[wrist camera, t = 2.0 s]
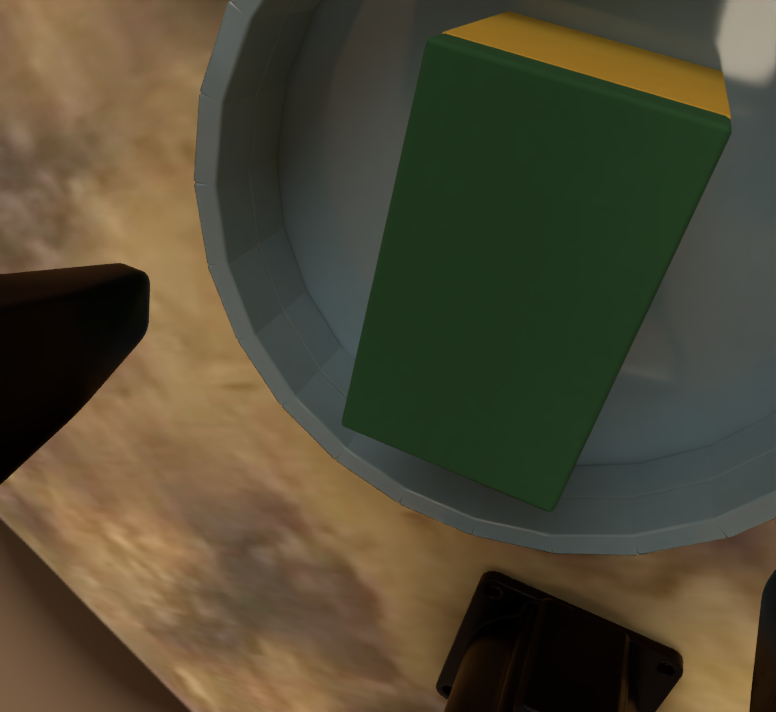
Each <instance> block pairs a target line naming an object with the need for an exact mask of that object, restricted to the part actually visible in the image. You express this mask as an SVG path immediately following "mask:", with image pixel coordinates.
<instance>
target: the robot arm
mask: <svg viewBox="0 0 776 712" xmlns="http://www.w3.org/2000/svg"><path fill="white" fill-rule="evenodd" d="M149 297H150V281H149V278H148V276H147V275H146V273H145V272H143V271H141V270H138V269H135V268H133V267H130V266H128V265H125V264H122V263H114V264H104V265H93V266H83V267H72V268H62V269H51V270H41V271H30V272H20V273H9V274H0V485H1V484H2V483H3V482H4V481H5V480H6V479H7V478H8V477H9V476H10V475H11V474H12V473H14V472H15V471H16V470H17V469H18V468H19V467H20V466H21V465H22V464H23V463H24V462H25V461H26V460H28V459H29V458H30V457H31V456H32V455H33V454H34V453H35V452H36V451H37V450H38V449H39V448H40V447H42V446H43V445H44V444H45V443H46V442H47V441H48V440H49V439H50V438H51V437H52V436H53V435H54V434H56V433H57V432H58V431H59V430H60V429H61V428H62V427H63V426H64V425H65V424H66V423H67V422H68V421H69V420H70V419H71V418H73V417H74V416H75V415H76V414H77V413H78V412H79V411H80V409H81V408H82V407H83V406H84V405H85V404H86V403H87V402H88V401H89V400H90V399H91V398H92V396H93V395H94V394H95V393H96V392H97V391H98V389H99V388H100V387H101V386H102V385H103V384H104V383H105V381H106V380H107V379H108V378H109V377H110V376H111V374H112V373H113V372H114V371H115V370H116V369H117V368H118V366H119V365H120V364H121V363H122V362H123V361H124V359H125V358H126V357H127V356H128V355H129V354H130V353H131V351H132V350H133V349H134V348H135V347H136V346H137V345H138V343H139V342H140V341H141V340H142V338H143V337H144V335H145V333H146V331H147V328H148V323H149ZM491 586H494V587H496V588H498V589H494V588H492V587H491ZM662 663H667V664H668V665H666V664H662ZM682 673H683V659H682V656H681V655H680V654H679V653H678V652H677V651H675V650H674V649H672V648H670V647H667V646H665V645H663V644H661V643H658V642H656V641H654V640H651V639H649V638H647V637H645V636H642V635H640V634H638V633H636V632H633V631H631V630H629V629H626V628H624V627H622V626H620V625H617V624H615V623H613V622H611V621H608V620H606V619H604V618H601V617H599V616H597V615H595V614H592V613H590V612H588V611H586V610H583V609H581V608H579V607H577V606H574V605H572V604H570V603H567V602H565V601H563V600H561V599H558V598H556V597H554V596H552V595H549V594H547V593H545V592H542V591H540V590H538V589H536V588H533V587H531V586H529V585H527V584H524V583H522V582H520V581H517V580H515V579H513V578H511V577H508V576H506V575H504V574H502V573H499V572H495V571H488V572H486V573H484V574H483V575H482V576H481V578H480V581H479V583H478V585H477V588H476V590H475V593H474V595H473V597H472V600H471V602H470V604H469V607H468V609H467V612H466V614H465V616H464V619H463V621H462V623H461V626H460V628H459V630H458V633H457V635H456V638H455V640H454V642H453V645H452V647H451V649H450V652H449V654H448V656H447V659H446V661H445V664H444V666H443V668H442V671H441V673H440V675H439V678H438V681H437V684H436V689H437V691H438V693H439V694H440V695H441V696H443V697H444V698H446V699H448V701H447V704H446V707H445V710H444V712H656V710H657V709H658V708H659V706H660V705H661V704H662V702H663V701H664V699H665V698H666V697H667V695H668V694H669V693H670V691H671V690H672V689H673V687H674V686H675V685H676V683H677V682H678V680H679V679H680V678H681V676H682ZM750 712H776V570H775V571H774V572H773V574H772V575H771V576H770V578H769V579H768V581H767V583H766V585H765V588H764V590H763V594H762V599H761V608H760V617H759V626H758V635H757V644H756V653H755V662H754V671H753V681H752V690H751V701H750Z"/></svg>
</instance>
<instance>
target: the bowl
mask: <svg viewBox="0 0 776 712" xmlns="http://www.w3.org/2000/svg"><path fill="white" fill-rule="evenodd" d="M507 11H510V12H514V13H517V14H521V15H524V16H528V17H531V18H535V19H538V20H542V21H546V22H549V23H553V24H556V25H560V26H563V27H567V28H570V29H574V30H577V31H581V32H585V33H588V34H592V35H595V36H599V37H602V38H606V39H609V40H613V41H616V42H620V43H624V44H627V45H631V46H634V47H638V48H641V49H645V50H648V51H652V52H655V53H659V54H662V55H666V56H670V57H673V58H677V59H680V60H684V61H687V62H691V63H694V64H698V65H701V66H705V67H709V68H712V69H716V70H719V71H722V72H723V75H724V80H725V86H726V91H727V97H728V102H729V108H730V113H731V127H732V132H731V135H730V137H729V140H728V142H727V144H726V146H725V148H724V150H723V152H722V154H721V157H720V159H719V161H718V163H717V165H716V167H715V169H714V171H713V174H712V176H711V178H710V180H709V182H708V184H707V186H706V188H705V191H704V193H703V195H702V197H701V199H700V201H699V203H698V205H697V208H696V210H695V212H694V214H693V216H692V218H691V220H690V222H689V225H688V227H687V229H686V231H685V233H684V235H683V237H682V239H681V242H680V244H679V246H678V248H677V250H676V252H675V254H674V256H673V259H672V261H671V263H670V265H669V267H668V269H667V271H666V273H665V276H664V278H663V280H662V282H661V284H660V286H659V288H658V290H657V293H656V295H655V297H654V299H653V301H652V303H651V305H650V307H649V310H648V312H647V314H646V316H645V318H644V320H643V322H642V324H641V327H640V329H639V331H638V333H637V335H636V337H635V339H634V341H633V344H632V346H631V348H630V350H629V352H628V354H627V356H626V358H625V361H624V363H623V365H622V367H621V369H620V371H619V373H618V375H617V378H616V380H615V382H614V384H613V386H612V388H611V390H610V392H609V395H608V397H607V399H606V401H605V403H604V405H603V407H602V409H601V412H600V414H599V416H598V418H597V420H596V422H595V424H594V426H593V429H592V431H591V433H590V435H589V437H588V439H587V441H586V444H585V446H584V448H583V450H582V452H581V454H580V456H579V458H578V461H577V463H576V465H575V467H574V469H573V471H572V473H571V475H570V478H569V480H568V482H567V484H566V486H565V488H564V490H563V492H562V495H561V497H560V499H559V501H558V503H557V505H556V507H555V509H554V510H553V511H552V512H547V511H545V510H542V509H540V508H537V507H535V506H533V505H530V504H528V503H525V502H523V501H521V500H518V499H516V498H513V497H511V496H509V495H506V494H504V493H501V492H499V491H497V490H494V489H492V488H490V487H487V486H485V485H482V484H480V483H478V482H475V481H473V480H470V479H468V478H466V477H463V476H461V475H458V474H456V473H454V472H451V471H449V470H446V469H444V468H442V467H439V466H437V465H434V464H432V463H430V462H427V461H425V460H422V459H420V458H418V457H415V456H413V455H411V454H408V453H406V452H403V451H401V450H399V449H396V448H394V447H391V446H389V445H387V444H384V443H382V442H379V441H377V440H375V439H372V438H370V437H367V436H365V435H363V434H360V433H358V432H355V431H353V430H351V429H348V428H346V427H344V426H343V425H342V417H343V413H344V408H345V404H346V399H347V395H348V390H349V386H350V381H351V377H352V372H353V368H354V363H355V359H356V354H357V350H358V345H359V341H360V337H361V332H362V328H363V323H364V319H365V314H366V310H367V305H368V301H369V296H370V292H371V287H372V283H373V278H374V274H375V269H376V265H377V260H378V256H379V251H380V247H381V242H382V238H383V233H384V229H385V224H386V220H387V215H388V211H389V206H390V202H391V197H392V193H393V188H394V184H395V179H396V175H397V170H398V166H399V161H400V157H401V152H402V148H403V143H404V139H405V134H406V130H407V125H408V121H409V116H410V112H411V107H412V103H413V98H414V94H415V89H416V85H417V80H418V76H419V71H420V67H421V62H422V58H423V53H424V49H425V44H426V41H427V40H428V38H430V37H433V36H436V35H439V34H442V33H443V32H445V31H448V30H451V29H454V28H457V27H460V26H463V25H467V24H470V23H473V22H476V21H479V20H482V19H485V18H488V17H491V16H495V15H498V14H501V13H504V12H507ZM200 91H201V93H200V95H199V108H198V124H197V139H196V155H195V171H194V181H195V184H194V186H195V192H196V198H197V204H198V210H199V216H200V222H201V228H202V234H203V240H204V246H205V252H206V258H207V263H208V264H209V265H208V268H209V271H210V273H211V276H212V278H213V281H214V283H215V286H216V288H217V291H218V293H219V296H220V298H221V301H222V303H223V306H224V308H225V311H226V313H227V316H228V318H229V321H230V323H231V326H232V328H233V331H234V333H235V336H236V338H237V339H238V342H239V343H240V345H241V346H242V348H243V349H244V351H245V353H246V354H247V356H248V357H249V359H250V360H251V362H252V363H253V365H254V366H255V368H256V369H257V371H258V372H259V374H260V375H261V377H262V378H263V380H264V381H265V383H266V384H267V386H268V387H269V389H270V390H271V392H272V393H273V395H274V396H275V398H276V399H277V401H278V402H279V404H282V407H283V408H284V409H285V410H286V411H287V412H288V413H289V414H290V415H291V416H292V417H293V418H294V419H295V420H296V421H297V422H298V423H299V424H300V425H301V426H302V427H303V428H304V429H305V430H306V431H307V432H308V433H309V434H310V435H311V436H312V437H313V438H314V439H315V440H316V441H317V442H318V443H319V444H320V445H321V446H322V447H323V448H324V449H325V450H326V451H327V452H328V453H329V454H330V455H331V456H332V457H333V458H334V459H336V458H337V462H339V463H340V464H342V465H343V466H344V467H346V468H347V469H349V470H350V471H352V472H353V473H355V474H356V475H358V476H359V477H361V478H362V479H364V480H365V481H367V482H368V483H369V484H371V485H372V486H374V487H375V488H377V489H378V490H380V491H381V492H383V493H384V494H386V495H387V496H389V497H390V498H391V499H393V500H394V501H396V502H398V503H399V502H400V504H401V505H403V506H405V507H407V508H409V509H412V510H414V511H416V512H419V513H421V514H423V515H426V516H428V517H430V518H433V519H435V520H437V521H439V522H442V523H444V524H446V525H449V526H451V527H453V528H456V529H458V530H460V531H463V532H465V533H467V534H469V535H472V534H473V535H474V536H477V537H482V538H486V539H491V540H495V541H500V542H504V543H509V544H513V545H518V546H522V547H527V548H531V549H536V550H540V551H545V552H552V553H554V554H597V555H637V554H646V553H652V552H657V551H662V550H668V549H673V548H678V547H684V546H689V545H695V544H700V543H705V542H711V541H716V540H721V539H725V538H726V537H727V538H730V537H733V536H735V535H737V534H740V533H742V532H744V531H747V530H749V529H752V528H754V527H756V526H759V525H761V524H763V523H766V522H768V521H770V520H773V519H775V518H776V0H230V1H229V2H228V4H227V7H226V10H225V13H224V17H223V20H222V23H221V26H220V29H219V32H218V36H217V39H216V42H215V45H214V48H213V51H212V55H211V58H210V61H209V64H208V67H207V70H206V73H205V77H204V80H203V83H202V86H201V89H200Z"/></svg>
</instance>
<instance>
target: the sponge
mask: <svg viewBox="0 0 776 712" xmlns="http://www.w3.org/2000/svg"><path fill="white" fill-rule="evenodd" d="M731 132H732V127H731V113H730V108H729V102H728V97H727V91H726V86H725V80H724V75H723V72H722V71H719V70H716V69H712V68H709V67H705V66H701V65H698V64H694V63H691V62H687V61H684V60H680V59H677V58H673V57H670V56H666V55H662V54H659V53H655V52H652V51H648V50H645V49H641V48H638V47H634V46H631V45H627V44H624V43H620V42H616V41H613V40H609V39H606V38H602V37H599V36H595V35H592V34H588V33H585V32H581V31H577V30H574V29H570V28H567V27H563V26H560V25H556V24H553V23H549V22H546V21H542V20H538V19H535V18H531V17H528V16H524V15H521V14H517V13H514V12H510V11H507V12H504V13H501V14H498V15H495V16H491V17H488V18H485V19H482V20H479V21H476V22H473V23H470V24H467V25H463V26H460V27H457V28H454V29H451V30H448V31H445V32H443V33H442V34H439V35H436V36H433V37H430V38H428V40H427V41H426V44H425V49H424V53H423V58H422V62H421V67H420V71H419V76H418V80H417V85H416V89H415V94H414V98H413V103H412V107H411V112H410V116H409V121H408V125H407V130H406V134H405V139H404V143H403V148H402V152H401V157H400V161H399V166H398V170H397V175H396V179H395V184H394V188H393V193H392V197H391V202H390V206H389V211H388V215H387V220H386V224H385V229H384V233H383V238H382V242H381V247H380V251H379V256H378V260H377V265H376V269H375V274H374V278H373V283H372V287H371V292H370V296H369V301H368V305H367V310H366V314H365V319H364V323H363V328H362V332H361V337H360V341H359V345H358V350H357V354H356V359H355V363H354V368H353V372H352V377H351V381H350V386H349V390H348V395H347V399H346V404H345V408H344V413H343V417H342V425H343V426H344V427H346V428H348V429H351V430H353V431H355V432H358V433H360V434H363V435H365V436H367V437H370V438H372V439H375V440H377V441H379V442H382V443H384V444H387V445H389V446H391V447H394V448H396V449H399V450H401V451H403V452H406V453H408V454H411V455H413V456H415V457H418V458H420V459H422V460H425V461H427V462H430V463H432V464H434V465H437V466H439V467H442V468H444V469H446V470H449V471H451V472H454V473H456V474H458V475H461V476H463V477H466V478H468V479H470V480H473V481H475V482H478V483H480V484H482V485H485V486H487V487H490V488H492V489H494V490H497V491H499V492H501V493H504V494H506V495H509V496H511V497H513V498H516V499H518V500H521V501H523V502H525V503H528V504H530V505H533V506H535V507H537V508H540V509H542V510H545V511H547V512H552V511H553V510H554V509H555V507H556V505H557V503H558V501H559V499H560V497H561V495H562V492H563V490H564V488H565V486H566V484H567V482H568V480H569V478H570V475H571V473H572V471H573V469H574V467H575V465H576V463H577V461H578V458H579V456H580V454H581V452H582V450H583V448H584V446H585V444H586V441H587V439H588V437H589V435H590V433H591V431H592V429H593V426H594V424H595V422H596V420H597V418H598V416H599V414H600V412H601V409H602V407H603V405H604V403H605V401H606V399H607V397H608V395H609V392H610V390H611V388H612V386H613V384H614V382H615V380H616V378H617V375H618V373H619V371H620V369H621V367H622V365H623V363H624V361H625V358H626V356H627V354H628V352H629V350H630V348H631V346H632V344H633V341H634V339H635V337H636V335H637V333H638V331H639V329H640V327H641V324H642V322H643V320H644V318H645V316H646V314H647V312H648V310H649V307H650V305H651V303H652V301H653V299H654V297H655V295H656V293H657V290H658V288H659V286H660V284H661V282H662V280H663V278H664V276H665V273H666V271H667V269H668V267H669V265H670V263H671V261H672V259H673V256H674V254H675V252H676V250H677V248H678V246H679V244H680V242H681V239H682V237H683V235H684V233H685V231H686V229H687V227H688V225H689V222H690V220H691V218H692V216H693V214H694V212H695V210H696V208H697V205H698V203H699V201H700V199H701V197H702V195H703V193H704V191H705V188H706V186H707V184H708V182H709V180H710V178H711V176H712V174H713V171H714V169H715V167H716V165H717V163H718V161H719V159H720V157H721V154H722V152H723V150H724V148H725V146H726V144H727V142H728V140H729V137H730V135H731Z"/></svg>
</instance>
